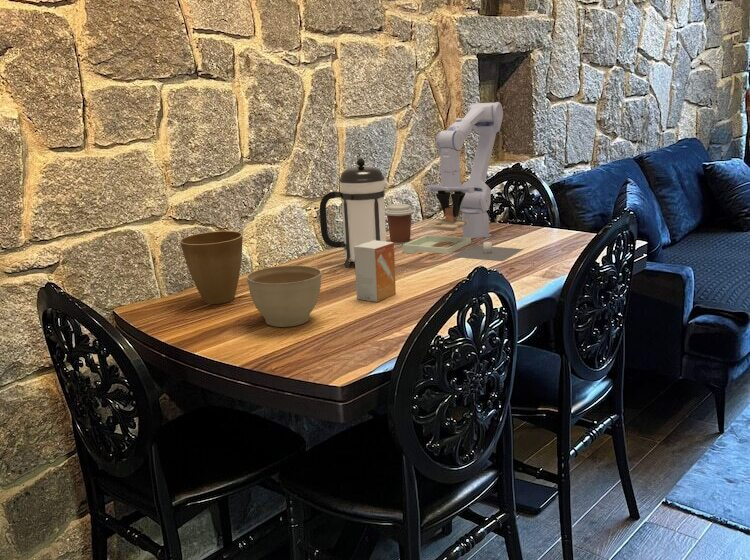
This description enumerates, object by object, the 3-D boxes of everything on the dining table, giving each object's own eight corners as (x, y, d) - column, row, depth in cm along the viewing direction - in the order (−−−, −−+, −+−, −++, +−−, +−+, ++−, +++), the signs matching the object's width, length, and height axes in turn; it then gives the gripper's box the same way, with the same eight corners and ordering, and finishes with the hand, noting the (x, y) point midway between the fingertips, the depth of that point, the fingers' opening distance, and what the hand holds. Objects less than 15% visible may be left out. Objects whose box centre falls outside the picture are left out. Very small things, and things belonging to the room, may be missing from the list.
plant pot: (214, 289, 187) (207, 229, 183) (260, 294, 180) (254, 232, 176) (174, 305, 175) (166, 241, 170) (222, 311, 168) (215, 245, 164)
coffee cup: (380, 243, 232) (378, 207, 229) (398, 238, 239) (396, 202, 236) (402, 246, 227) (401, 209, 223) (420, 241, 233) (418, 204, 230)
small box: (377, 302, 169) (374, 248, 165) (356, 299, 172) (353, 246, 169) (396, 294, 175) (394, 241, 172) (375, 290, 179) (373, 239, 175)
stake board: (473, 248, 219) (473, 235, 218) (524, 252, 211) (524, 239, 210) (450, 259, 206) (450, 246, 205) (502, 264, 198) (502, 250, 197)
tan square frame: (438, 222, 222) (437, 206, 221) (467, 223, 217) (467, 207, 216) (423, 229, 214) (422, 212, 213) (453, 231, 209) (453, 214, 208)
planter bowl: (314, 333, 149) (310, 283, 147) (240, 332, 152) (235, 283, 149) (332, 310, 165) (329, 264, 162) (265, 310, 168) (260, 264, 165)
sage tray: (426, 242, 231) (426, 234, 230) (471, 246, 222) (471, 238, 222) (402, 252, 218) (402, 244, 217) (448, 256, 210) (448, 248, 209)
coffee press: (371, 254, 218) (366, 154, 210) (402, 263, 205) (397, 157, 197) (322, 264, 209) (314, 160, 201) (350, 274, 196) (343, 163, 188)
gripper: (422, 172, 215) (424, 217, 219) (466, 173, 208) (467, 219, 211) (433, 169, 221) (434, 213, 225) (476, 170, 214) (477, 215, 217)
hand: (451, 216), depth 219 cm, fingers closed on tan square frame, 2 cm apart
